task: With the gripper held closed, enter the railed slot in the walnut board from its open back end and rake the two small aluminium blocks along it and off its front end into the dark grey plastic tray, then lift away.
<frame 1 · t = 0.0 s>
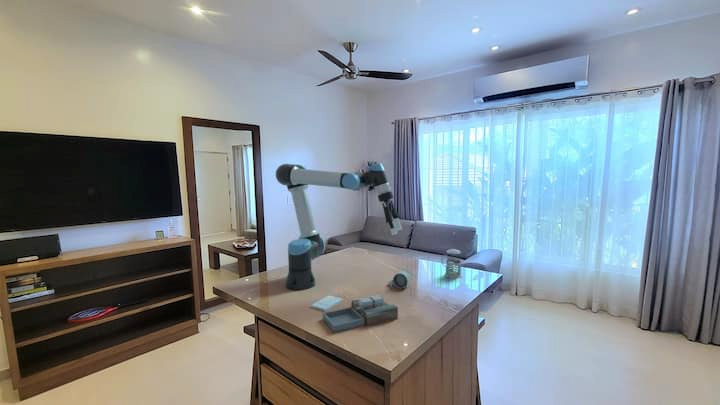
hand: (397, 232, 150), 28 cm above the countertop, tool tilted 20°, fingers open, 13 cm apart
ceramic mug: (399, 286, 152), on the countertop
chip tray: (343, 322, 113), on the countertop
slot board: (374, 314, 119), on the countertop
aluminium chip back: (376, 306, 119), point 3 cm above the countertop, touching slot board
french press: (451, 275, 168), on the countertop
aluminium chip front: (365, 309, 117), point 3 cm above the countertop, touching slot board
external hard drive: (326, 305, 130), on the countertop
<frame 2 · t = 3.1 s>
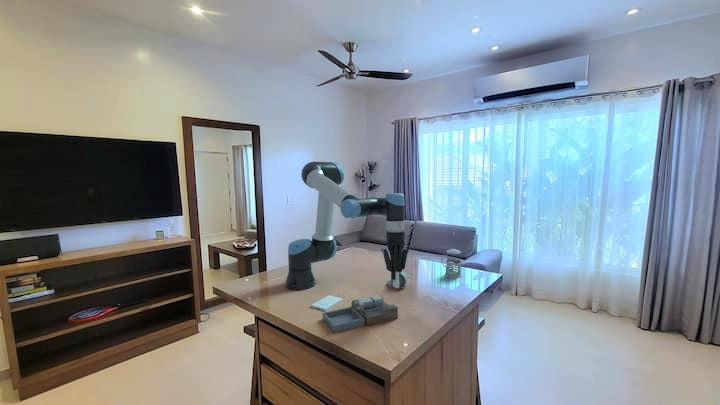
hand: (395, 286, 122), 10 cm above the countertop, tool pointing down, fingers closed
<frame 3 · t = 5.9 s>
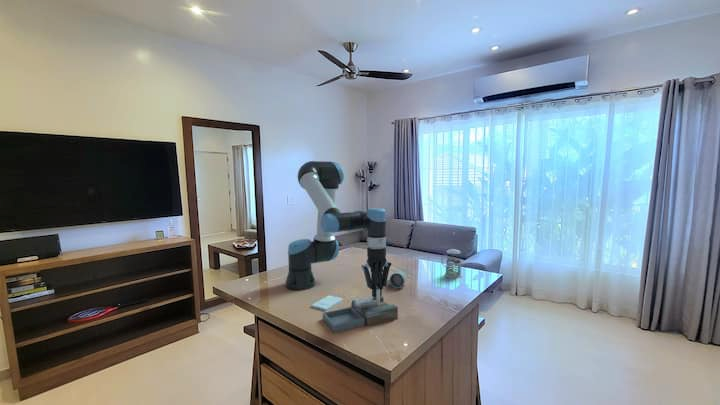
hand: (376, 304, 119), 4 cm above the countertop, tool pointing down, fingers closed
aluminium chip back: (371, 308, 118), point 3 cm above the countertop, touching aluminium chip front, gripper
aluminium chip front: (362, 310, 116), point 3 cm above the countertop, touching aluminium chip back
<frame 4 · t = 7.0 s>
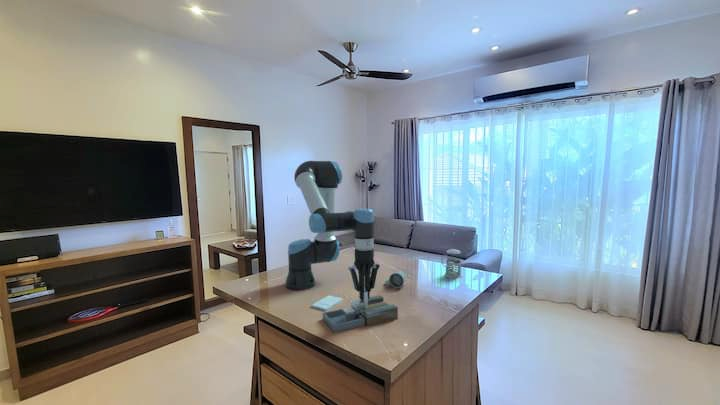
hand: (364, 306, 117), 4 cm above the countertop, tool pointing down, fingers closed
aluminium chip back: (358, 311, 115), point 3 cm above the countertop, touching gripper
aluminium chip front: (353, 313, 114), point 2 cm above the countertop, tilted 90°, touching chip tray
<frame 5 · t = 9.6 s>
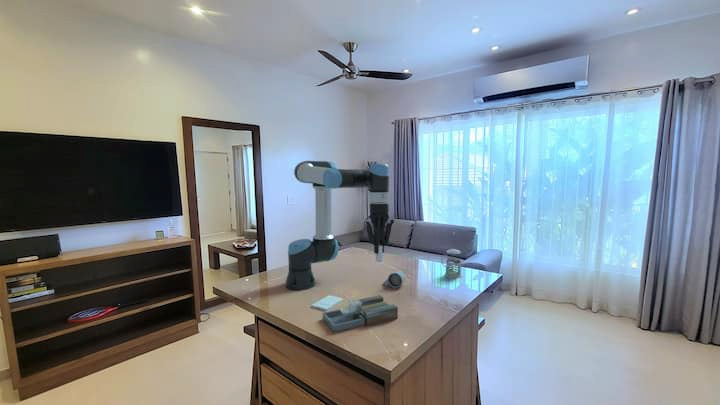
hand: (379, 261, 119), 22 cm above the countertop, tool pointing down, fingers closed
aluminium chip back: (355, 312, 115), point 3 cm above the countertop, touching aluminium chip front, slot board
aluminium chip front: (350, 314, 114), point 3 cm above the countertop, tilted 91°, touching aluminium chip back, chip tray
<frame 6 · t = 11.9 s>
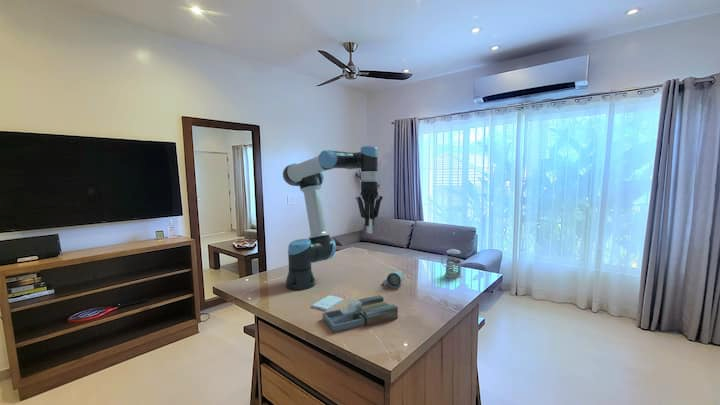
hand: (369, 232, 134), 30 cm above the countertop, tool pointing down, fingers closed
at the end: aluminium chip front inside the target area on the chip tray (3.1 cm from its centre), point 2.6 cm above the chip tray's base; aluminium chip back inside the target area on the chip tray (5.1 cm from its centre), point 3.0 cm above the chip tray's base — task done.
